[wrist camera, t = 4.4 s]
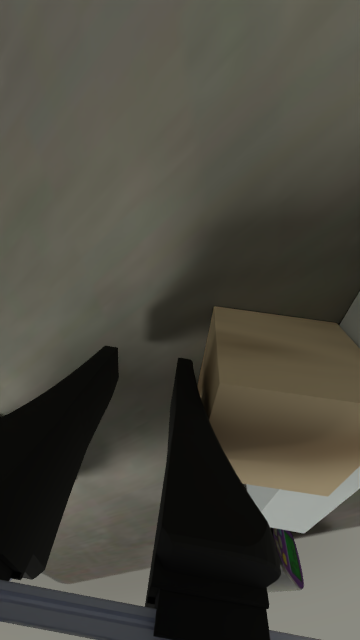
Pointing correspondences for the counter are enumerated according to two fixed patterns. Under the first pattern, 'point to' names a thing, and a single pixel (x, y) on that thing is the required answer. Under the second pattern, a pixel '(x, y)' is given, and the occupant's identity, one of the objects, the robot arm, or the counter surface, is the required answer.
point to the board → (301, 507)
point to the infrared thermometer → (287, 563)
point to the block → (283, 399)
